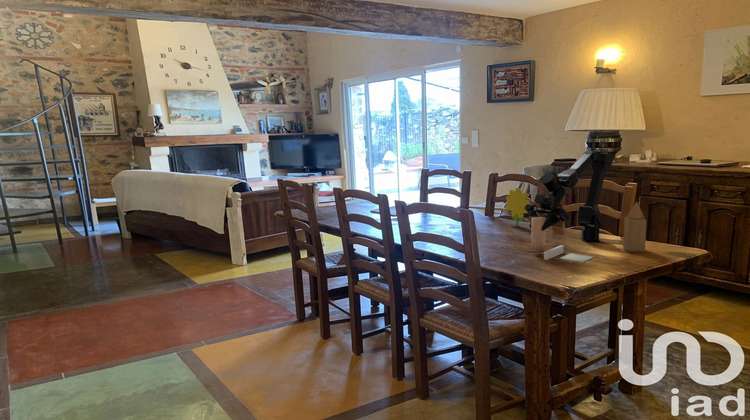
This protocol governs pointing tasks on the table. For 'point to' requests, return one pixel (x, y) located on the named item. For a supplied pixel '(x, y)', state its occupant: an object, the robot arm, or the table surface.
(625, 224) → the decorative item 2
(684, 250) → the table surface
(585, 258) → the tile
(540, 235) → the tan round cylinder
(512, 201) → the decorative item
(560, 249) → the low wall
